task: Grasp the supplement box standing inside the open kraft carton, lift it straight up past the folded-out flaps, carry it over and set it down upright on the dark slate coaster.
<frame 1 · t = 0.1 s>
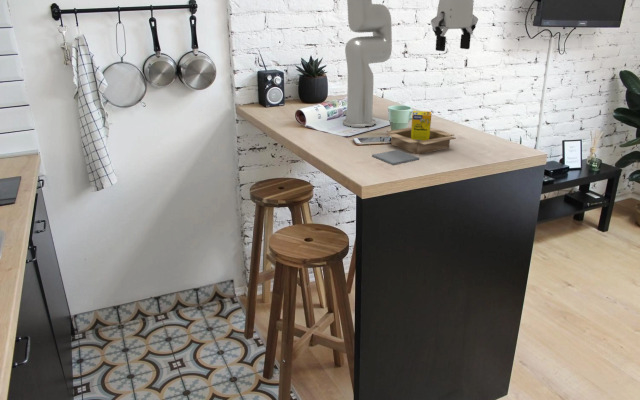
hand: (452, 49, 150), 31 cm above the table, fingers open, 9 cm apart
carton: (419, 145, 169), on the table
coaster: (395, 158, 157), on the table
supplement box: (419, 146, 169), resting in carton
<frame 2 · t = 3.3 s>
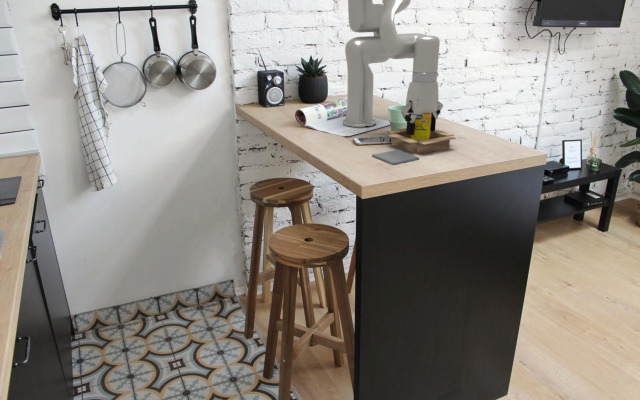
hand: (420, 132, 167), 5 cm above the table, fingers closed on supplement box, 8 cm apart
supplement box: (419, 146, 169), resting in carton, touching gripper
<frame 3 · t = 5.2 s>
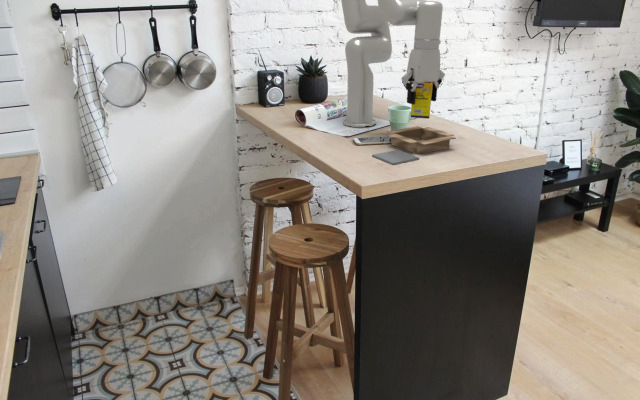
hand: (421, 101, 164), 14 cm above the table, fingers closed on supplement box, 8 cm apart
supplement box: (420, 116, 166), point 9 cm above the table, touching gripper
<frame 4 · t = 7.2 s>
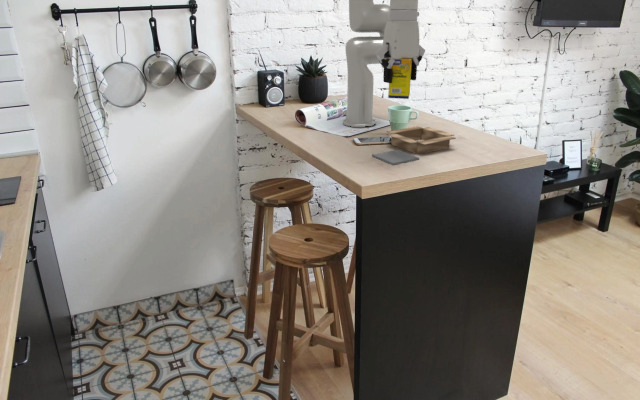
hand: (399, 80, 149), 23 cm above the table, fingers closed on supplement box, 8 cm apart
supplement box: (399, 97, 151), point 18 cm above the table, touching gripper
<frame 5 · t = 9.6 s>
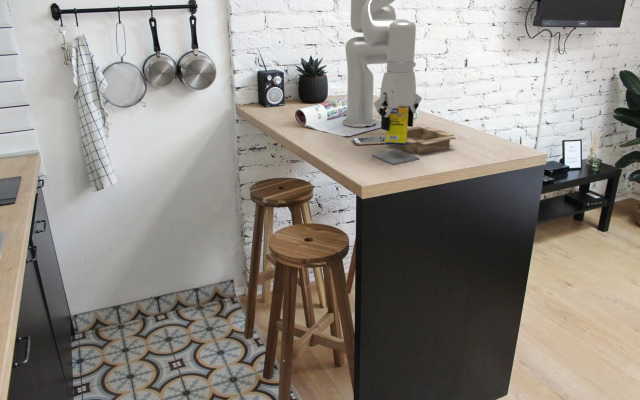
hand: (397, 127, 154), 9 cm above the table, fingers closed on supplement box, 8 cm apart
supplement box: (396, 143, 155), point 5 cm above the table, touching gripper
when the fingers open (6 cm above the table, at t = 11.4 s): supplement box drops 1 cm, resting on coaster.
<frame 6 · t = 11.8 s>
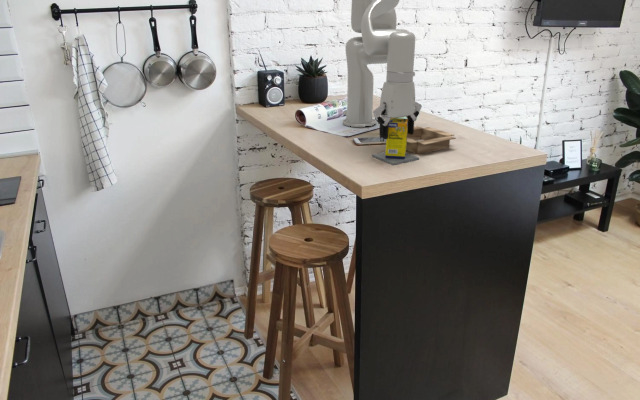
hand: (396, 135, 155), 7 cm above the table, fingers open, 9 cm apart
supplement box: (395, 156, 157), resting on coaster
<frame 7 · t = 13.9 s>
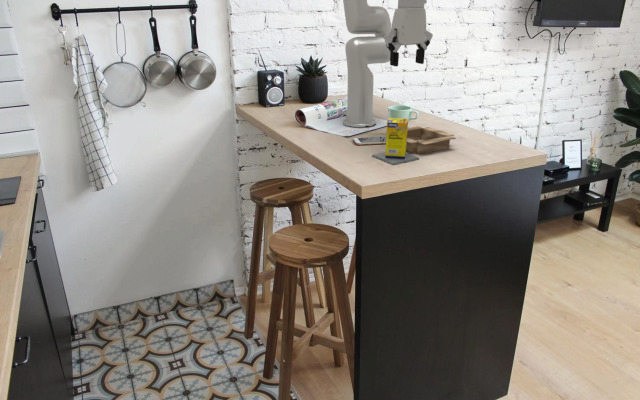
hand: (406, 64, 156), 26 cm above the table, fingers open, 9 cm apart
nothing on the table moved.
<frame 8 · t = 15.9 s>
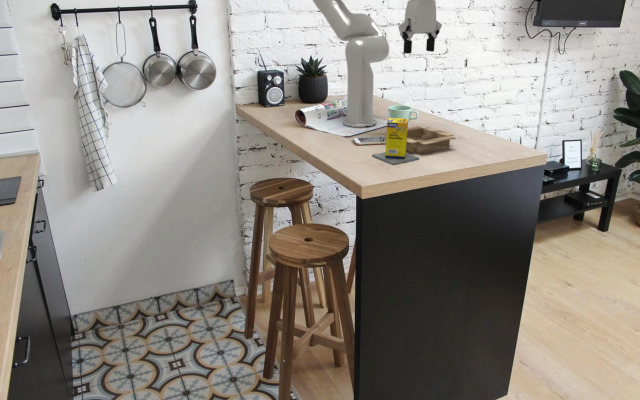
hand: (418, 52, 169), 28 cm above the table, fingers open, 9 cm apart
nothing on the table moved.
at the end: supplement box inside the target area on the coaster (0.3 cm from its centre), point 0.4 cm above the coaster's base; supplement box tilted 0°; the gripper is holding nothing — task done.
